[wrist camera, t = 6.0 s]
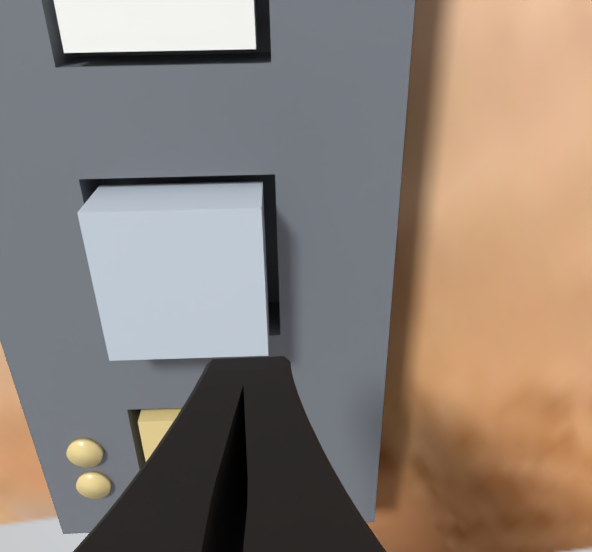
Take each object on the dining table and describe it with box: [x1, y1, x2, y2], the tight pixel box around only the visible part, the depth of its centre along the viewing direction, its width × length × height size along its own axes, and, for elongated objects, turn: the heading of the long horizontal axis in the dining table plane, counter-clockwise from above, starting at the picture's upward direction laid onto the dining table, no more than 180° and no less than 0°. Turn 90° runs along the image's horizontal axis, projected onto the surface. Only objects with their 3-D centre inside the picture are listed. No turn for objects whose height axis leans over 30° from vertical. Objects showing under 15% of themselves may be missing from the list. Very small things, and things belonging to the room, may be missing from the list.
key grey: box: [77, 181, 269, 361], centre depth 16 cm, size 4×4×2 cm
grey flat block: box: [0, 0, 415, 534], centre depth 17 cm, size 12×23×3 cm, turn 1°
